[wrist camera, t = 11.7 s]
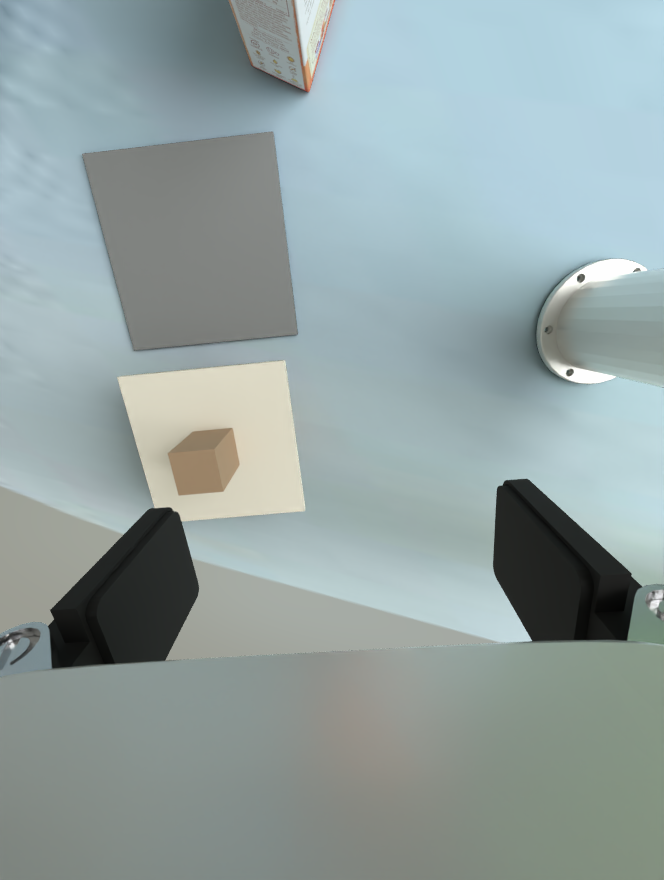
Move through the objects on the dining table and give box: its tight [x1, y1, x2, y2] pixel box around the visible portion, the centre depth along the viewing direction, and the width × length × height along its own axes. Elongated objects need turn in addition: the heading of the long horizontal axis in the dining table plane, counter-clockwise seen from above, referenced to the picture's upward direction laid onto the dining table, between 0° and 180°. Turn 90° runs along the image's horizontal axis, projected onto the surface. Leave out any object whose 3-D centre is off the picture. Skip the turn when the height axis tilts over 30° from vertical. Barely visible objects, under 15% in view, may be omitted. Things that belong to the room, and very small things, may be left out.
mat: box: [82, 132, 298, 350], centre depth 37 cm, size 18×18×1 cm
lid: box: [117, 360, 305, 521], centre depth 35 cm, size 16×16×7 cm
